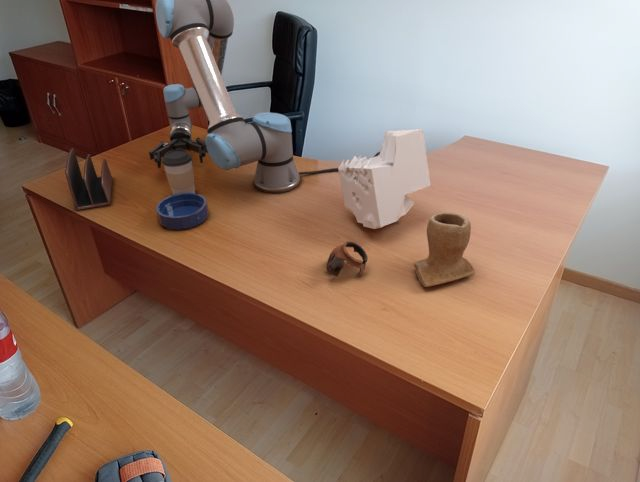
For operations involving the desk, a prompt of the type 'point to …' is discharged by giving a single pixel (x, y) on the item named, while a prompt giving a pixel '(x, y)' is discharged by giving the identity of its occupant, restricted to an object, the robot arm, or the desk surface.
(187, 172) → the coffee cup
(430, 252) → the stone cup
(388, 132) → the jagged white plaster chunk
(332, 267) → the brown curved piece
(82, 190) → the letter holder
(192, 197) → the bowl
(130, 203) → the desk surface
